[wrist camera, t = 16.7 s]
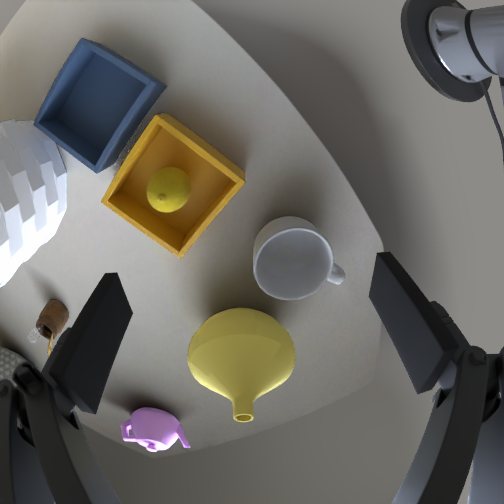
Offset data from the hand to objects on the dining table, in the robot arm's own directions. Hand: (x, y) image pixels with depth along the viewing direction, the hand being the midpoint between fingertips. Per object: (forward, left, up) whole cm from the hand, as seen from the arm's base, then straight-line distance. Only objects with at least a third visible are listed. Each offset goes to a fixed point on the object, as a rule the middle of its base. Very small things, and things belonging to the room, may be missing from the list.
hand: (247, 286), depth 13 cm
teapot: (-25, +71, -27) cm, 80 cm away
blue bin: (+22, +4, -27) cm, 35 cm away
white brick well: (+31, +24, -27) cm, 48 cm away
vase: (-19, +23, -27) cm, 40 cm away
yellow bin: (+6, +7, -27) cm, 29 cm away
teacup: (-14, +4, -27) cm, 31 cm away
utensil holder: (+13, +46, -27) cm, 55 cm away
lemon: (+6, +7, -27) cm, 28 cm away
